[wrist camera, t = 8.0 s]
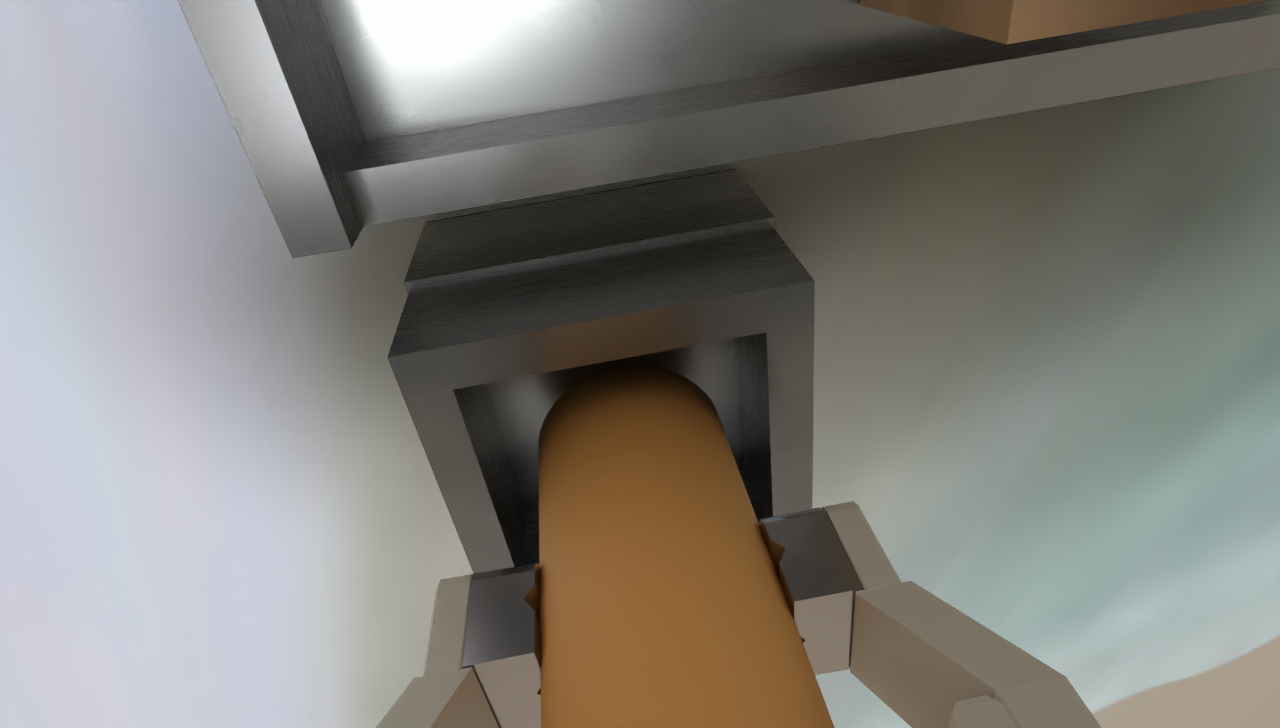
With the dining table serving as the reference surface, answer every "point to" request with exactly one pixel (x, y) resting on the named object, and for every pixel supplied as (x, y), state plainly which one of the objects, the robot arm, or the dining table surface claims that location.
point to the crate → (1039, 14)
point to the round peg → (658, 569)
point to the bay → (629, 90)
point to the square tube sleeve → (602, 339)
